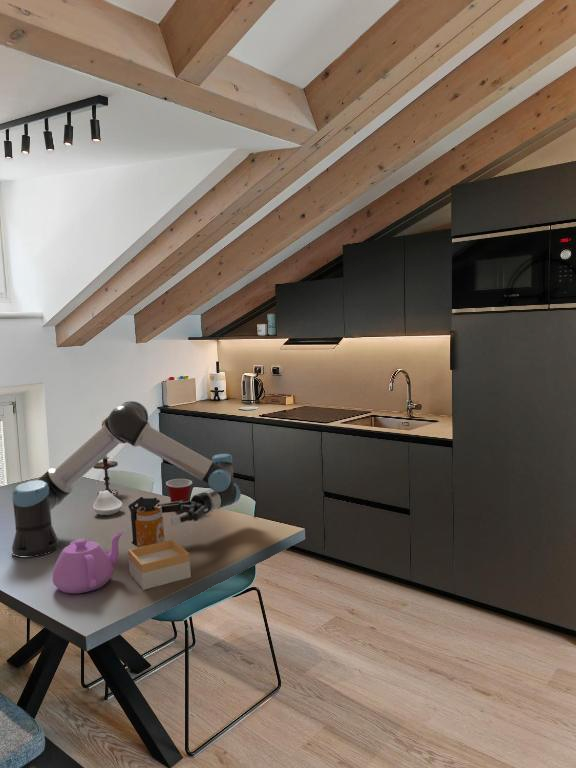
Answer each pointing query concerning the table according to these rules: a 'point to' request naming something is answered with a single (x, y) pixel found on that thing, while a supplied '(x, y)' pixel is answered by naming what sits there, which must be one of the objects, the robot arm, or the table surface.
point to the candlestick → (105, 466)
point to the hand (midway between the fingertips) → (158, 518)
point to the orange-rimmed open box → (159, 564)
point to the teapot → (85, 566)
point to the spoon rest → (107, 503)
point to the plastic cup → (179, 489)
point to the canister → (146, 522)
